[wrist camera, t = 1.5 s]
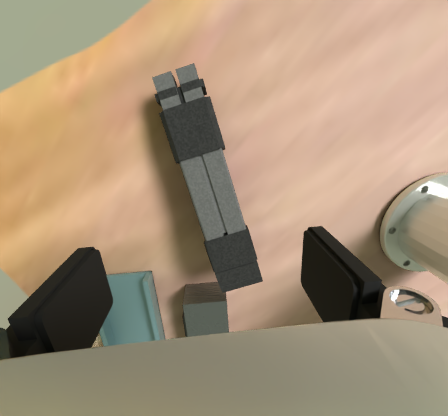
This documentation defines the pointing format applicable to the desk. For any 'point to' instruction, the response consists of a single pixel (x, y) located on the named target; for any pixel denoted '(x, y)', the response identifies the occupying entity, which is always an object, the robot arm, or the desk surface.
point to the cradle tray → (132, 310)
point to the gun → (207, 176)
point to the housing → (204, 310)
